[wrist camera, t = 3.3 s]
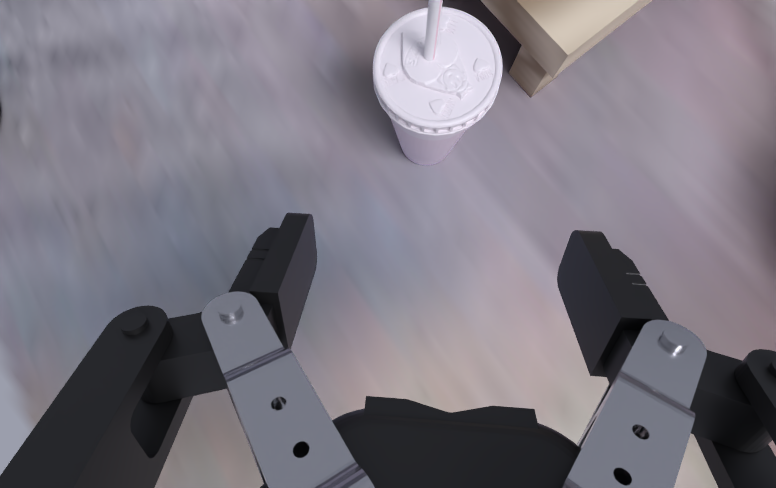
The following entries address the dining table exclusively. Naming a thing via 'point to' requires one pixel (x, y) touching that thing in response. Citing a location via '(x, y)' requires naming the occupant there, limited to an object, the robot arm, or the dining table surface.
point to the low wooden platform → (557, 32)
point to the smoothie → (435, 78)
